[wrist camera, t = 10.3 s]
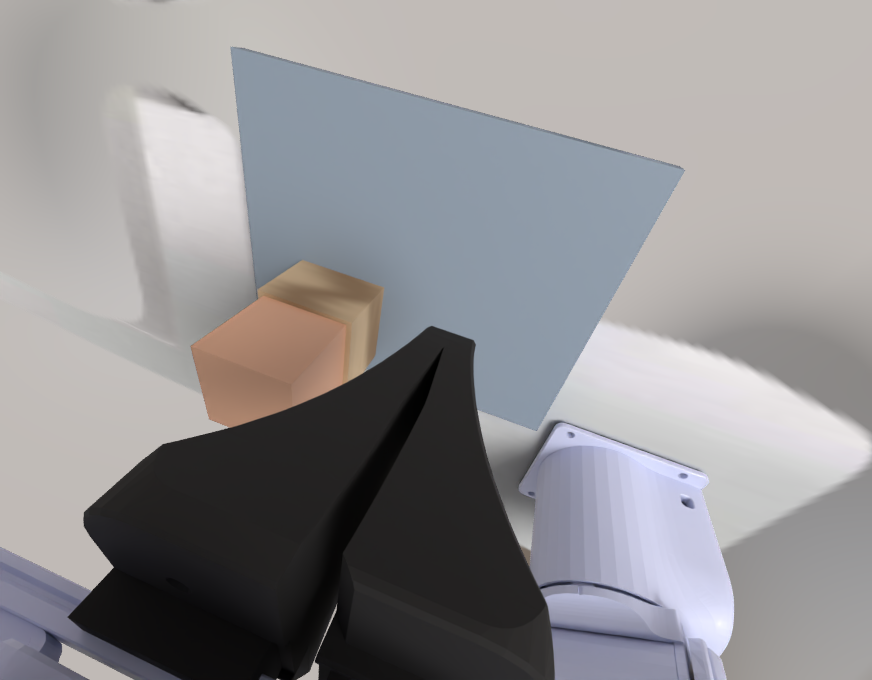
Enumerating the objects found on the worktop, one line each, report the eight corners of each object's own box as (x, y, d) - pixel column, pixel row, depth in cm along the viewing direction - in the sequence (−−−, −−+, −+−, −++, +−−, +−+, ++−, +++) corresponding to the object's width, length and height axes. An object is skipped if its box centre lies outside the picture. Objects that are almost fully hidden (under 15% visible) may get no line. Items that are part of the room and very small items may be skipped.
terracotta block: (346, 324, 18) (291, 384, 15) (342, 390, 21) (294, 453, 18) (263, 295, 19) (190, 346, 15) (269, 362, 22) (209, 419, 18)
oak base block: (384, 287, 21) (351, 323, 18) (375, 355, 25) (346, 396, 21) (302, 259, 22) (257, 289, 19) (303, 330, 25) (265, 365, 22)
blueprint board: (680, 166, 15) (685, 170, 15) (537, 422, 25) (536, 431, 24) (242, 47, 17) (230, 46, 17) (267, 324, 27) (260, 330, 26)
